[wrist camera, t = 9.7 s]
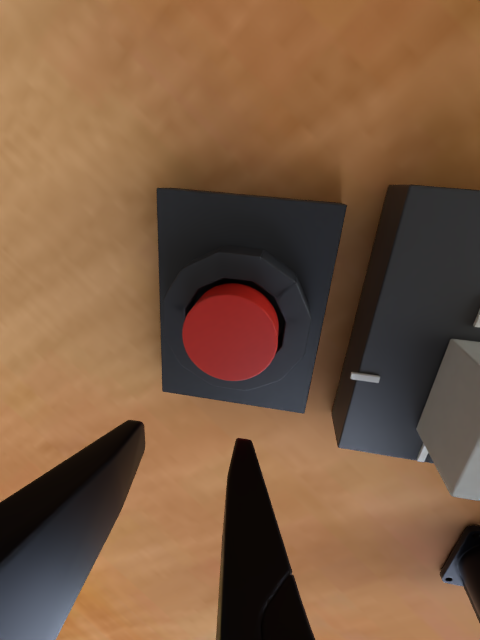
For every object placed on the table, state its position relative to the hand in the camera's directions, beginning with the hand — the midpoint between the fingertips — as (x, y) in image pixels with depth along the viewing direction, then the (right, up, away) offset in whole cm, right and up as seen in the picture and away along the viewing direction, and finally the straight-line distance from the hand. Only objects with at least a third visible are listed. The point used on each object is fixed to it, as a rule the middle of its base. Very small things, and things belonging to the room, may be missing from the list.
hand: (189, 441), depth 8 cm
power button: (+1, +3, +7) cm, 8 cm away
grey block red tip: (+12, 0, +7) cm, 14 cm away
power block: (+2, +4, +10) cm, 11 cm away
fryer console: (+12, +3, +9) cm, 16 cm away
